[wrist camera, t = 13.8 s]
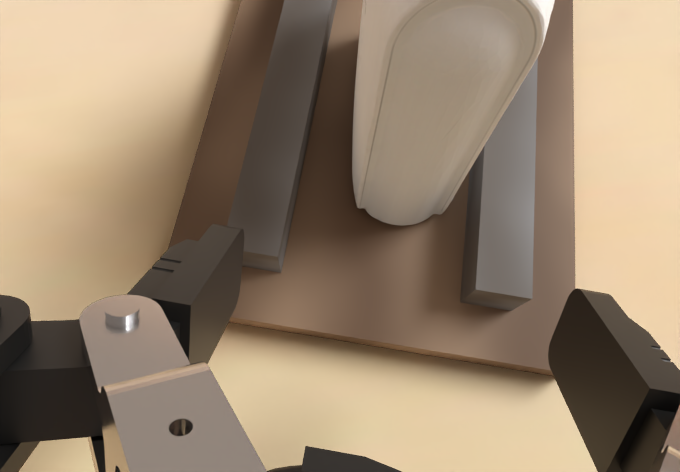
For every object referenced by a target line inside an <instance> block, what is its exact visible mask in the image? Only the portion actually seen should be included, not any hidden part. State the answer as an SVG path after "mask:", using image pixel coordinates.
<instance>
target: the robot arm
mask: <svg viewBox="0 0 680 472" xmlns="http://www.w3.org/2000/svg"><path fill="white" fill-rule="evenodd" d="M243 250H244V230H243V229H240V228H234V227H229V226H223V225H217V224H212V225H211V226H210V227H209V228H208V230H207V231H206V232H205V233H204V235H203V236H202V237H201V238H200V240H199V241H195V240H189V239H187V240H184V241H182V242H180V243H178V244H176V245H173V246H171V247H170V248H169V249H168V250H167V251H166V252H165V253H164V254H163V256H162V257H161V258H160V260H158V261H157V262H156V263H155V264H154V265H153V266H152V269H150V270H149V271H148V272H147V273H146V274H145V275H144V276H143V277H142V279H141V280H140V281H139V282H138V283H137V284H136V285H135V286H134V287H133V288H132V289H131V291H130V292H129V293H128V294H127V295H117V296H111V297H107V298H103V299H100V300H98V301H96V302H94V303H92V304H90V305H89V306H88V307H86V308H85V309H84V310H83V311H82V313H81V315H80V319H78V320H65V321H31V317H30V309H29V306H28V305H27V304H26V303H25V302H24V301H22V300H21V299H18V298H15V297H11V296H5V295H0V472H18V471H19V470H20V468H21V467H22V466H23V464H24V463H25V461H26V460H27V459H28V457H29V456H30V455H31V453H32V452H33V450H34V449H35V448H36V446H37V445H38V443H39V442H40V441H47V440H58V439H70V438H81V437H88V441H89V446H90V450H91V455H92V459H93V463H94V468H95V472H401V471H399V470H396V469H394V468H392V467H389V466H387V465H384V464H382V463H379V462H377V461H374V460H372V459H369V458H367V457H363V456H358V455H352V454H347V453H341V452H336V451H330V450H325V449H319V448H314V447H308V446H306V447H305V453H304V458H303V464H302V465H300V466H288V467H282V468H276V469H272V470H269V471H266V469H265V467H264V466H263V464H262V462H261V460H260V458H259V456H258V455H257V453H256V451H255V449H254V447H253V446H252V444H251V442H250V440H249V438H248V437H247V435H246V433H245V431H244V429H243V427H242V426H241V424H240V422H239V420H238V418H237V417H236V415H235V413H234V411H233V409H232V408H231V406H230V404H229V402H228V400H227V398H226V397H225V395H224V393H223V391H222V389H221V388H220V386H219V384H218V382H217V380H216V379H215V377H214V375H213V373H212V371H211V370H210V368H209V366H208V365H207V364H208V362H209V360H210V358H211V356H212V354H213V352H214V350H215V348H216V346H217V344H218V342H219V340H220V338H221V336H222V334H223V332H224V330H225V328H226V326H227V324H228V322H229V320H230V318H231V316H232V314H233V312H234V310H235V308H236V305H237V301H238V297H239V292H240V285H241V274H242V262H243ZM670 360H671V359H670V358H669V357H668V356H667V354H666V353H665V352H664V351H663V350H660V346H659V345H658V343H657V342H656V341H655V340H654V339H653V337H652V336H651V335H650V334H649V332H647V331H646V330H645V329H643V328H642V327H641V326H639V325H638V324H637V323H635V322H634V321H633V320H631V319H630V318H628V316H627V315H626V314H625V313H624V311H623V310H622V309H621V307H620V306H619V305H618V304H617V302H616V301H615V300H614V299H613V297H612V296H611V295H609V294H605V293H599V292H594V291H588V290H582V289H574V290H573V291H572V292H571V293H570V295H569V296H568V299H567V301H566V304H565V306H564V309H563V311H562V314H561V316H560V319H559V321H558V324H557V326H556V328H555V331H554V333H553V336H552V338H551V341H550V344H549V350H548V362H549V366H550V369H551V371H552V373H553V375H554V378H555V380H556V382H557V384H558V386H559V388H560V391H561V393H562V395H563V397H564V399H565V401H566V404H567V406H568V408H569V410H570V412H571V414H572V417H573V419H574V421H575V423H576V425H577V427H578V430H579V432H580V434H581V436H582V438H583V440H584V443H585V445H586V447H587V449H588V451H589V453H590V456H591V458H592V460H593V462H594V464H595V466H596V469H597V471H598V472H680V370H679V369H678V368H677V367H676V365H675V364H674V363H673V362H670Z"/></svg>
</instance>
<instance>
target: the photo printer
mask: <svg viewBox="0 0 680 472" xmlns="http://www.w3.org/2000/svg"><path fill="white" fill-rule="evenodd" d="M554 2H555V0H363V5H362V15H361V24H360V34H359V44H358V56H357V67H356V80H355V93H354V111H353V138H352V178H353V189H354V195H355V201H356V205H357V207H358V208H364V209H365V210H366V211H367V213H368V214H369V215H371V216H372V217H374V218H376V219H378V220H380V221H382V222H385V223H388V224H392V225H401V226H405V225H413V224H417V223H420V222H422V221H424V220H426V219H428V218H429V217H430V216H431V215H433V214H439V215H440V214H442V213H443V212H444V211H445V210H446V209H447V207H448V206H449V204H450V203H451V201H452V200H453V198H454V196H455V194H456V192H457V191H458V189H459V187H460V185H461V184H462V182H463V180H464V179H465V177H466V175H467V174H468V172H469V170H470V169H471V167H472V165H473V164H474V162H475V160H476V159H477V157H478V155H479V154H480V152H481V151H482V149H483V147H484V145H485V144H486V142H487V140H488V139H489V137H490V135H491V134H492V132H493V130H494V129H495V127H496V125H497V124H498V122H499V120H500V119H501V117H502V115H503V114H504V112H505V110H506V109H507V107H508V105H509V104H510V102H511V101H512V99H513V98H514V96H515V94H516V92H517V91H518V89H519V87H520V85H521V84H522V82H523V81H524V79H525V78H526V76H527V74H528V73H529V71H530V69H531V68H532V66H533V64H534V62H535V61H536V59H537V57H538V55H539V53H540V51H541V48H542V46H543V43H544V40H545V36H546V32H547V29H548V25H549V20H550V16H551V13H552V10H553V6H554Z"/></svg>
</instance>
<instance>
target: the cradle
mask: <svg viewBox="0 0 680 472" xmlns="http://www.w3.org/2000/svg"><path fill="white" fill-rule="evenodd" d="M362 5H363V0H241V3H240V7H239V10H238V13H237V17H236V20H235V23H234V27H233V30H232V34H231V37H230V40H229V44H228V47H227V51H226V54H225V57H224V61H223V64H222V68H221V71H220V74H219V78H218V81H217V85H216V88H215V91H214V95H213V98H212V102H211V105H210V108H209V112H208V115H207V119H206V122H205V125H204V129H203V132H202V136H201V139H200V142H199V146H198V149H197V153H196V156H195V159H194V163H193V166H192V170H191V173H190V176H189V180H188V183H187V187H186V190H185V193H184V197H183V200H182V204H181V207H180V210H179V214H178V217H177V221H176V224H175V227H174V231H173V234H172V238H171V241H170V244H169V248H170V247H171V246H173V245H176V244H178V243H180V242H182V241H184V240H187V239H189V240H195V241H199V240H200V238H201V237H202V236H203V235H204V233H205V232H206V231H207V230H208V228H209V227H210V226H211V225H212V224H217V225H223V226H229V227H234V228H240V229H243V230H244V250H243V262H242V274H241V285H240V292H239V297H238V301H237V305H236V308H235V310H234V312H233V314H232V316H231V318H230V320H229V322H233V323H239V324H245V325H251V326H257V327H263V328H269V329H275V330H281V331H287V332H293V333H299V334H305V335H311V336H317V337H323V338H329V339H335V340H341V341H347V342H353V343H359V344H365V345H371V346H377V347H383V348H389V349H395V350H401V351H407V352H413V353H419V354H425V355H431V356H437V357H443V358H449V359H455V360H461V361H467V362H473V363H479V364H485V365H491V366H497V367H503V368H509V369H515V370H521V371H527V372H533V373H539V374H545V375H551V376H554V375H553V373H552V371H551V369H550V366H549V362H548V350H549V344H550V341H551V338H552V336H553V333H554V331H555V328H556V326H557V324H558V321H559V319H560V316H561V314H562V311H563V309H564V306H565V304H566V301H567V299H568V296H569V295H570V293H571V292H572V291H573V290H574V289H575V212H574V99H573V0H555V2H554V6H553V10H552V13H551V16H550V20H549V25H548V29H547V32H546V36H545V40H544V43H543V46H542V48H541V51H540V53H539V55H538V57H537V59H536V61H535V62H534V64H533V66H532V68H531V69H530V71H529V73H528V74H527V76H526V78H525V79H524V81H523V82H522V84H521V85H520V87H519V89H518V91H517V92H516V94H515V96H514V98H513V99H512V101H511V102H510V104H509V105H508V107H507V109H506V110H505V112H504V114H503V115H502V117H501V119H500V120H499V122H498V124H497V125H496V127H495V129H494V130H493V132H492V134H491V135H490V137H489V139H488V140H487V142H486V144H485V145H484V147H483V149H482V151H481V152H480V154H479V155H478V157H477V159H476V160H475V162H474V164H473V165H472V167H471V169H470V170H469V172H468V174H467V175H466V177H465V179H464V180H463V182H462V184H461V185H460V187H459V189H458V191H457V192H456V194H455V196H454V198H453V200H452V201H451V203H450V204H449V206H448V207H447V209H446V210H445V211H444V212H443V213H442V214H440V215H439V214H433V215H431V216H430V217H429V218H428V219H426V220H424V221H422V222H420V223H417V224H413V225H405V226H401V225H392V224H388V223H385V222H382V221H380V220H378V219H376V218H374V217H372V216H371V215H369V214H368V213H367V211H366V210H365V209H364V208H358V207H357V205H356V201H355V195H354V189H353V178H352V138H353V111H354V93H355V80H356V67H357V56H358V44H359V34H360V24H361V15H362ZM169 248H168V249H169Z"/></svg>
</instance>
